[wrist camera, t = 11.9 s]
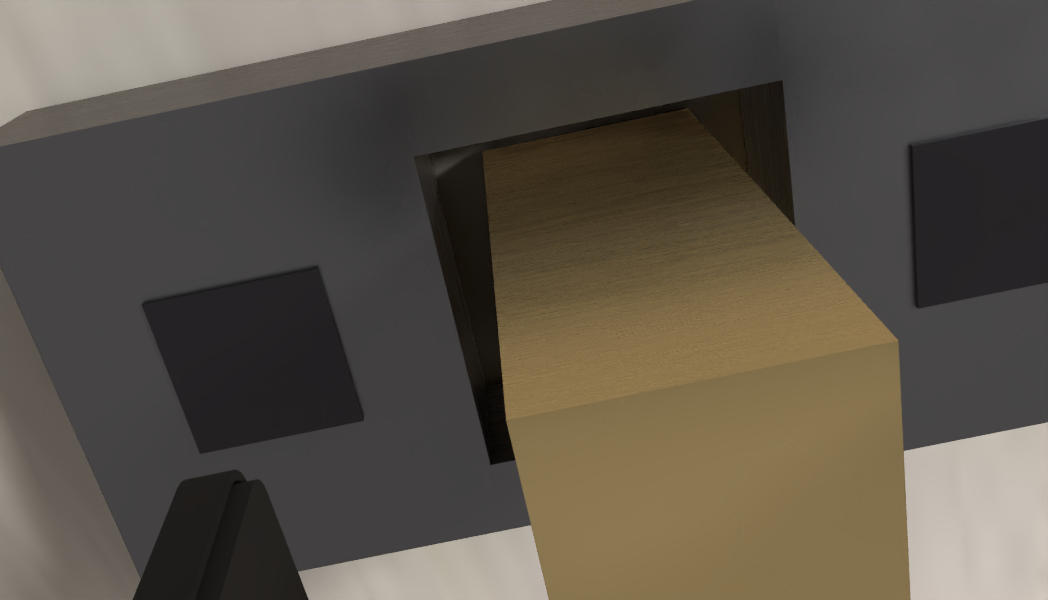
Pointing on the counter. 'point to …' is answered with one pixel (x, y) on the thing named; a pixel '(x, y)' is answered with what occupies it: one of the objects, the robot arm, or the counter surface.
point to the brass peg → (688, 378)
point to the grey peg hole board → (428, 259)
